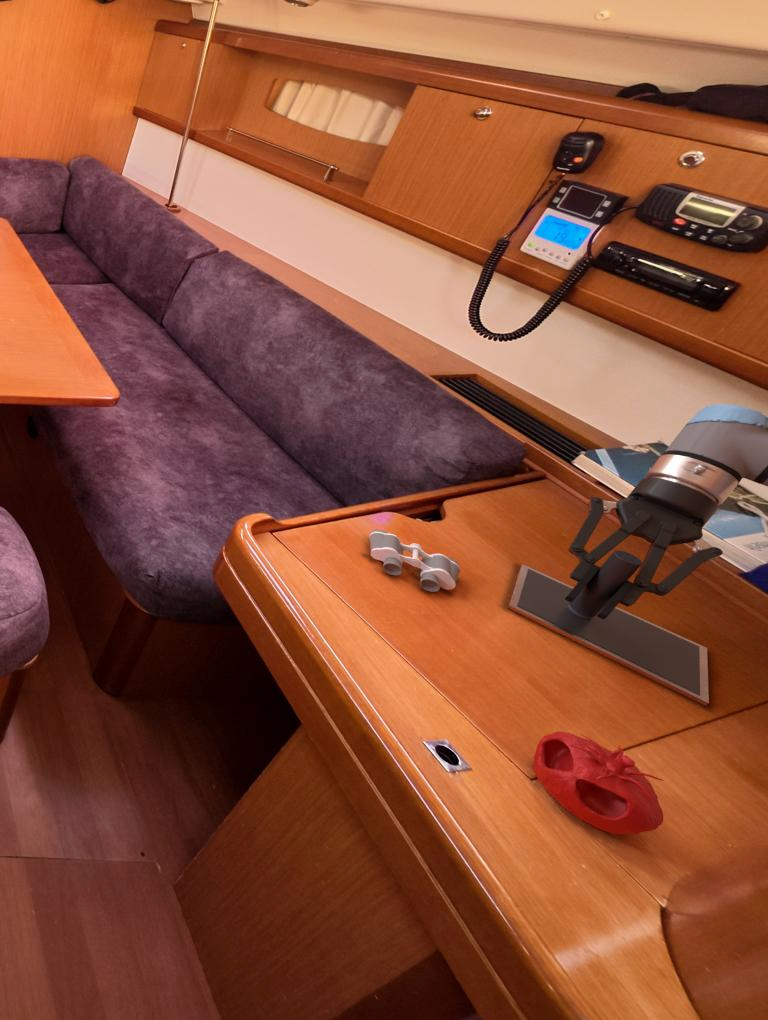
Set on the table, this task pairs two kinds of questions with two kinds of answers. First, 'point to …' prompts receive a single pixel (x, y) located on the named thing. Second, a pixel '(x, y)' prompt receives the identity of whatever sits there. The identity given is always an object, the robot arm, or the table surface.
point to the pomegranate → (597, 784)
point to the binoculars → (414, 561)
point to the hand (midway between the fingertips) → (585, 607)
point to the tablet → (615, 635)
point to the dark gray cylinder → (604, 584)
